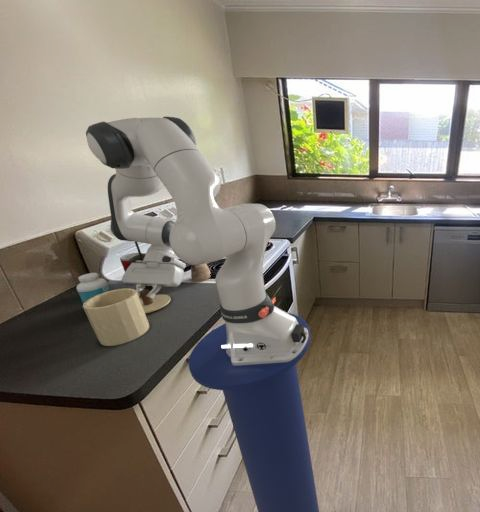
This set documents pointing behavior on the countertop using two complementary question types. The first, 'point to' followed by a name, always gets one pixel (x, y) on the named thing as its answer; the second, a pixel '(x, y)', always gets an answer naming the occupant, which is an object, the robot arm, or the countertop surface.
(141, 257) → the drinking cup
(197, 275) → the figurine
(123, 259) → the canned food
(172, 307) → the countertop surface
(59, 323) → the countertop surface
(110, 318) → the beige canister
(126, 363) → the countertop surface
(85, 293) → the pill bottle
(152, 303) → the lid
